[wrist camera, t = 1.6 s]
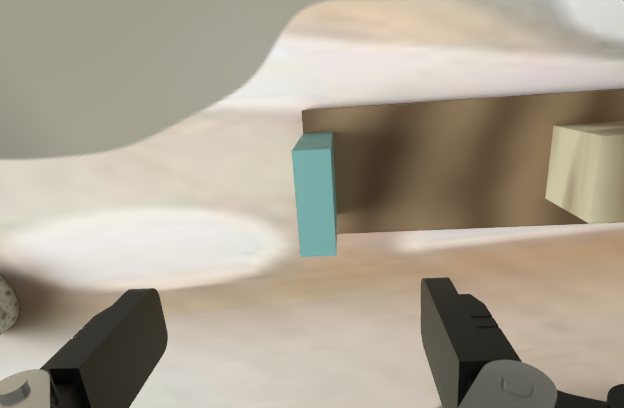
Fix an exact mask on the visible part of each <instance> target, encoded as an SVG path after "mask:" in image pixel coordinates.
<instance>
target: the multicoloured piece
mask: <svg viewBox="0 0 624 408" xmlns="http://www.w3.org/2000/svg"><path fill="white" fill-rule="evenodd" d="M623 121H624V89H612V90H597V91H582V92H567V93H552V94H537V95H522V96H507V97H492V98H477V99H462V100H447V101H432V102H418V103H403V104H388V105H373V106H358V107H343V108H328V109H313V110H303V111H302V122H303V135H302V136H301V138H300V139H299V141H298V142H297V144H296V145H295V147H294V148H293V150H292V160H293V171H294V183H295V195H296V207H297V218H298V230H299V242H300V254H301V257H310V256H336V242H337V234H344V233H369V232H394V231H418V230H443V229H468V228H493V227H518V226H543V225H567V224H589V223H587V222H586V221H584V220H582V219H580V218H579V217H577V216H575V215H573V214H572V213H570V212H568V211H566V210H565V209H563V208H561V207H559V206H558V205H556V204H554V203H552V202H551V201H549V200H547V199H545V197H546V188H547V179H548V170H549V162H550V153H551V144H552V135H553V126H556V125H573V124H590V123H606V122H623ZM616 223H617V222H616Z"/></svg>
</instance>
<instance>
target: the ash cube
mask: <svg viewBox="0 0 624 408" xmlns="http://www.w3.org/2000/svg"><path fill="white" fill-rule="evenodd" d="M545 199H547V200H549V201H551V202H552V203H554V204H556V205H558V206H559V207H561V208H563V209H565V210H566V211H568V212H570V213H572V214H573V215H575V216H577V217H579V218H580V219H582V220H584V221H586V222H587V223H589V224H592V223H616V222H624V121H623V122H606V123H590V124H573V125H556V126H553V135H552V144H551V153H550V162H549V170H548V179H547V188H546V197H545Z"/></svg>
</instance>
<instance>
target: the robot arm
mask: <svg viewBox="0 0 624 408" xmlns="http://www.w3.org/2000/svg"><path fill="white" fill-rule="evenodd" d="M421 334H422V341H423V346H424V350H425V353H426V356H427V359H428V362H429V365H430V368H431V372H432V375H433V378H434V381H435V384H436V387H437V390H438V394H439V397H440V400H441V403H442V406H441V407H440V408H624V384H620V385H617V386H614V387H613V388H611V389H610V391H609V392H608V396H607V401H606V402H604V401H599V400H595V399H590V398H585V397H580V396H576V395H571V394H567V393H564V392H561V391H558V390H557V389H556V387H555V385H554V383H553V382H552V380H551V379H550V378H549V377H548V376H547V375H545V374H544V373H543V372H541V371H540V370H538V369H537V368H535V367H533V366H531V365H528V364H526V363H522V361H521V360H520V358H519V357H518V355H517V354H516V352H515V351H514V349H513V347H512V346H511V344H510V343H509V341H508V340H507V338H506V337H505V335H504V334H503V332H502V331H501V329H500V328H499V327H498V324H497V323H496V321H495V320H494V318H492V315H491V314H490V312H489V311H488V309H487V307H486V306H485V304H484V303H482V302H481V301H479V300H478V299H476V298H475V297H473V296H472V295H471V294H458V292H457V291H456V289H455V287H454V285H453V284H452V282H451V280H450V278H423V279H422V281H421ZM167 339H168V335H167V329H166V324H165V319H164V315H163V310H162V306H161V301H160V297H159V294H158V292H157V290H156V289H153V288H151V289H130V290H128V291H126V292H125V293H124V294H123V295H122V296H121V297H120V298H119V299H118V300H117V301H116V302H115V303H114V304H113V305H112V306H110V307H109V308H107V309H105V310H104V311H102V312H101V313H99V314H97V315H96V316H94V317H93V318H92V319H91V320H90V321H89V322H88V323H87V324H86V325H85V326H84V327H83V330H80V331H79V332H78V333H77V334H76V335H75V336H73V339H70V340H69V341H68V342H67V343H66V344H65V345H64V346H63V347H62V348H61V349H60V350H59V351H58V352H57V353H56V354H55V355H54V356H53V357H52V358H51V359H50V360H49V361H48V362H47V363H46V364H45V365H43V366H42V367H41V368H40V369H39V370H38V369H36V370H27V371H23V372H20V373H17V374H14V375H12V376H9V377H7V378H5V379H3V380H1V381H0V408H129V407H130V405H131V404H132V402H133V401H134V399H135V397H136V396H137V394H138V393H139V391H140V390H141V388H142V387H143V385H144V383H145V382H146V380H147V379H148V377H149V376H150V374H151V373H152V371H153V369H154V368H155V366H156V365H157V363H158V362H159V360H160V358H161V357H162V355H163V354H164V352H165V349H166V346H167Z"/></svg>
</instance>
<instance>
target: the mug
mask: <svg viewBox="0 0 624 408" xmlns="http://www.w3.org/2000/svg"><path fill="white" fill-rule="evenodd" d="M18 316H19V303H18V299H17V297H16V294H15V292H14V291H13V289H12V288H11V286H10V285H9V284H8V283H7V282H6V281H5V280H4V279H3V278H2V277H1V276H0V335H1V334H2V333H3V332H5V331H6V330H7V329H9V328H10V327H11V326H12V325H13V324H14V323H15V322H16V320H17V318H18Z"/></svg>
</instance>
